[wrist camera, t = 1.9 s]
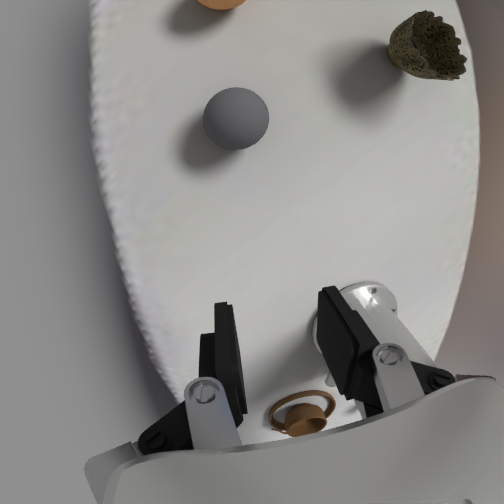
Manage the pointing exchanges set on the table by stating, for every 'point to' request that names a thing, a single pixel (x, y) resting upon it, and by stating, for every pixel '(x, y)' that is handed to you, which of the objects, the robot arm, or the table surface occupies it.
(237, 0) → the orange ball
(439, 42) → the brown round vessel
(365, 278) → the table surface
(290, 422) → the place setting
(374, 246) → the table surface
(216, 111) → the gray ball
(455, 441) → the robot arm
